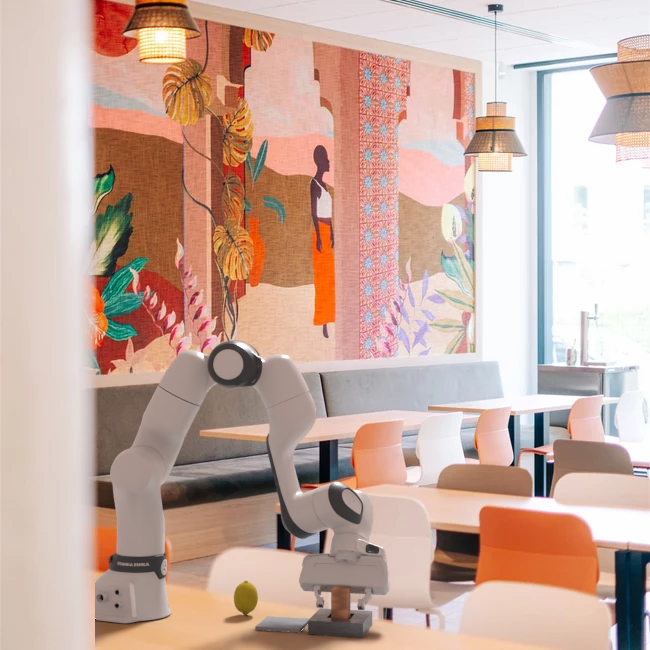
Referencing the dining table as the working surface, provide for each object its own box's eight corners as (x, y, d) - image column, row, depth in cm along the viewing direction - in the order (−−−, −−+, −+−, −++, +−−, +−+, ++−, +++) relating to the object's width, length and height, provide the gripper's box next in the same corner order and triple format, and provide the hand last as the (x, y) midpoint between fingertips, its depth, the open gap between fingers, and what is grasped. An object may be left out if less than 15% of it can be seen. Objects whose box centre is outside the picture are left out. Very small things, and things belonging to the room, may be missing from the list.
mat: (255, 630, 232) (255, 626, 232) (267, 619, 242) (267, 616, 242) (299, 632, 230) (299, 629, 230) (310, 622, 239) (310, 618, 240)
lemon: (254, 618, 242) (254, 583, 243) (230, 617, 244) (231, 582, 244) (260, 613, 248) (260, 578, 248) (237, 612, 249) (237, 577, 249)
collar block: (307, 634, 228) (307, 620, 228) (319, 621, 240) (319, 608, 240) (362, 637, 226) (362, 623, 226) (372, 624, 238) (372, 611, 238)
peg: (331, 631, 232) (331, 589, 232) (334, 627, 235) (334, 586, 235) (347, 632, 231) (347, 590, 231) (350, 628, 234) (350, 587, 235)
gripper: (302, 544, 243) (291, 596, 233) (391, 548, 238) (384, 601, 228) (306, 561, 247) (296, 612, 237) (393, 565, 243) (387, 617, 233)
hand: (340, 607), depth 233 cm, fingers open, 8 cm apart
